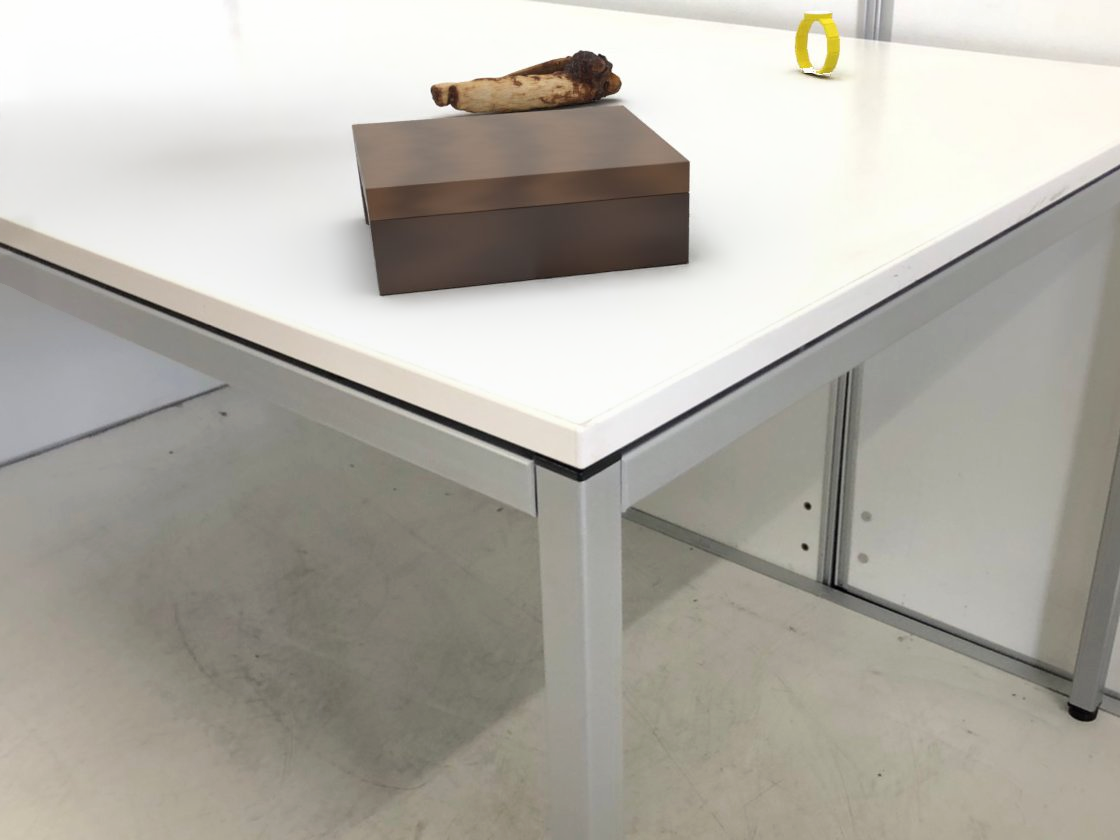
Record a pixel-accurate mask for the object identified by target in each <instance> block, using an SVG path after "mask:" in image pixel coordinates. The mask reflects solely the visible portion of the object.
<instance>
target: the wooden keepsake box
mask: <svg viewBox="0 0 1120 840" xmlns="http://www.w3.org/2000/svg"><path fill="white" fill-rule="evenodd" d="M351 131H352V139H353V145H354V152H355V159H356V167H357V173H358V180H359V187H360V194H361V201H362V208H363V209H362V210H363V217H364V221H365V224H366V225H369V232H370V240H371V248H372V253H373V262H374V269H375V276H376V283H377V288H378V294H379V296H384V295H385V296H386V295H395V294H403V293H414V292H423V291H431V290H440V289H441V290H442V289H451V288H462V287H470V286H481V285H488V284H489V285H490V284H498V283H499V284H500V283H509V282H519V281H527V280H537V279H546V278H547V279H548V278H557V277H566V276H575V275H585V274H593V273H603V272H613V271H622V270H623V271H624V270H633V269H642V268H650V267H652V268H653V267H660V266H669V265H670V266H672V265H679V264H688V263H689V262H690V203H691V201H690V200H691V199H690V197H691V196H690V195H691V194H690V191H691V190H690V188H691V187H690V186H691V185H690V183H691V179H690V178H691V161H690V160H689V159H688V158H687V157H686V156H684V155H683V154H682V153H681V152H679V151H678V150H677V149H676V148H675V147H674V146H673V145H671V144H670V143H669V142H668V141H667V140H665V139H664V138H663V137H662V136H661V135H659V134H658V133H657V132H656V131H654V130H653V128H651V127H650V126H649V125H647V123H645V122H644V121H643V120H642V119H640V118H639V117H638V116H637V115H636V114H634V113H633V112H632V111H631V110H630V109H628V108H627V107H626V106H625V105H623V104H621V105H609V106H608V105H607V106H595V107H593V106H592V107H581V108H580V107H579V108H565V109H552V110H551V109H550V110H538V111H536V110H535V111H525V112H522V111H521V112H507V113H495V114H483V115H482V114H479V115H467V116H453V117H442V118H441V117H439V118H426V119H425V118H424V119H411V120H400V121H399V120H398V121H384V122H370V123H369V122H368V123H354V124H351Z"/></svg>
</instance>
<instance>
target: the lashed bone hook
mask: <svg viewBox="0 0 1120 840" xmlns="http://www.w3.org/2000/svg"><path fill="white" fill-rule="evenodd" d="M613 68H614V65H613V63H612V62H611V61H609V60H608V58H607V57H606V55H604V54H602V53H598V54H596V53H595V52H594V51H590V50H581V49H580V50H578V51H577V52H575V53H573V54H572V55H566V56H565V57H559V58H554V59H550V60H547V61H544V62H540V63H536V64H534V65H530V66H528V67H525V68H521V69H519V70H516V71H514V72H511V73H508V74H506V75H503V76H500V77H479V78H473V79H471V80H467V81H466V80H465V81H459V82H448V81H447V82H441V83H436V84H433V85H431V86H430V94H431V99H432V100H433V101H434V104H435V105H436V106H437V107H440V108H443V107H448V106H449V105H450V106H451V107H452V108H453V110H456V111H460V112H461V111H463V112H466V113H470V114H482V113H483V114H484V113H489V112H490V113H491V112H501V113H513V112H522V111H531V110H533V109H537V110H540V109H552V108H558V107H564V106H569V105H576V104H580V105H582V104H583V105H584V104H590V103H592V102H596V101H600V100H602V99H603V98H606V97H609V96H612V95H616V94H617V93H619V91H620V90H621V89H622V85H623V83H622V80H621V77H620V76H619V75H617V74H616V73H614V72H613Z"/></svg>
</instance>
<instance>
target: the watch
mask: <svg viewBox="0 0 1120 840" xmlns="http://www.w3.org/2000/svg"><path fill="white" fill-rule="evenodd" d="M815 22H819V24H820V25H821V26H822V28H823V32H824V34H825V38H826V56H825V60H824V64H823V66H822V67H821V68H820V69H819V70H820V71H816V73H819V74H823V73H830V72H831V73H832V72H834V70H835V69H836V67H837V64H838V62H839V57H840V54H841V38H840V34H839V31H838V26H837V25H836V22H835V21H834V20H833V12H832V11H830V10H808V11H804V12H803V18H802V20H801V21H800V22H799V24H798V27H797V30H796V32H795V36H794V37H795V39H794V42H795V43H794V53H795V57H796V58H795V59H796V62H797V65H798V67H799V69H800V68H802V69H803V68H810V67H813V68H814V66H813V64H812V62H811V61H810V55H809V51H808V39H809V33H810V31H811V27H812V25H813V24H814V23H815ZM813 72H814V71H813Z"/></svg>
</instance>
